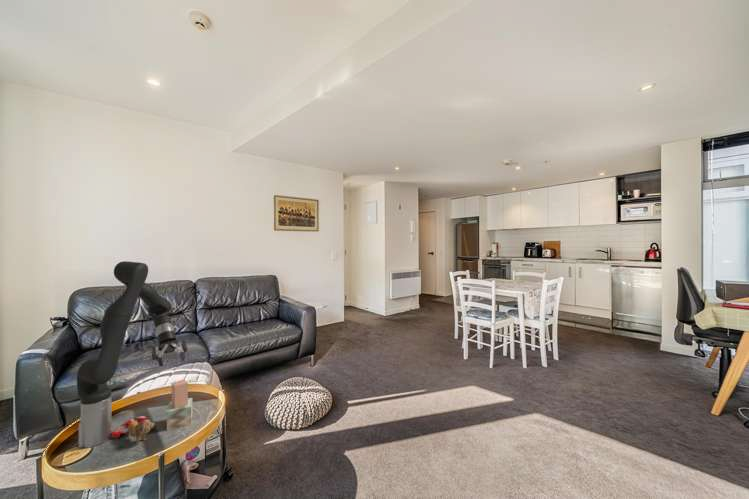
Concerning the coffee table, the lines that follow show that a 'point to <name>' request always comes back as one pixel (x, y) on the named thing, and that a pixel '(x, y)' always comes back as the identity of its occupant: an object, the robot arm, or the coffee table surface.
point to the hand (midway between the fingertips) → (172, 363)
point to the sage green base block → (179, 415)
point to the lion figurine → (139, 429)
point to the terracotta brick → (179, 393)
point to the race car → (126, 427)
